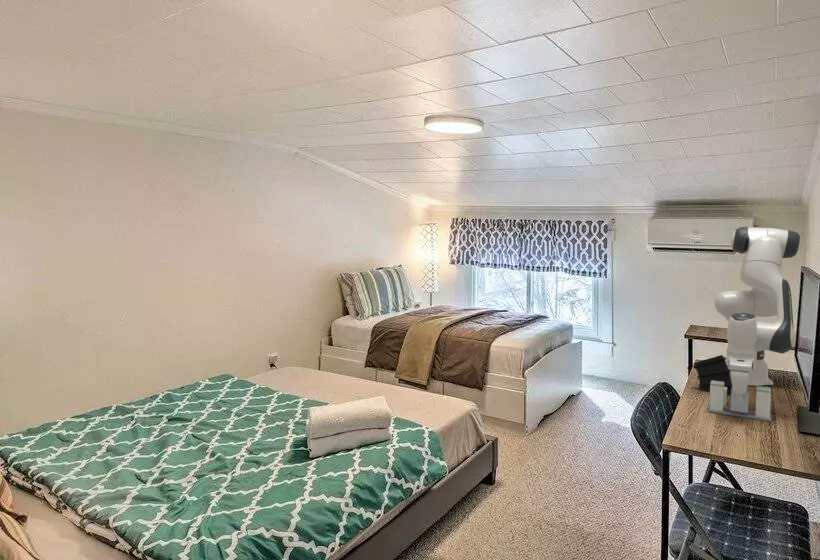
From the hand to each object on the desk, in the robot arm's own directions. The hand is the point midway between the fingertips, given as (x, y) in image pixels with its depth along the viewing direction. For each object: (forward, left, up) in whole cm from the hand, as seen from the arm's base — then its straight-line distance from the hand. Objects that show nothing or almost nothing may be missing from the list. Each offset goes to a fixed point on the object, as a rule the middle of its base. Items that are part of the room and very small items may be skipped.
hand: (739, 399), depth 178 cm
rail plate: (0, 0, -5) cm, 5 cm away
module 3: (0, +7, -5) cm, 8 cm away
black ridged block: (-26, -10, -5) cm, 28 cm away
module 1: (0, -7, -5) cm, 9 cm away
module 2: (0, 0, -4) cm, 4 cm away
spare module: (-10, -7, -5) cm, 13 cm away
